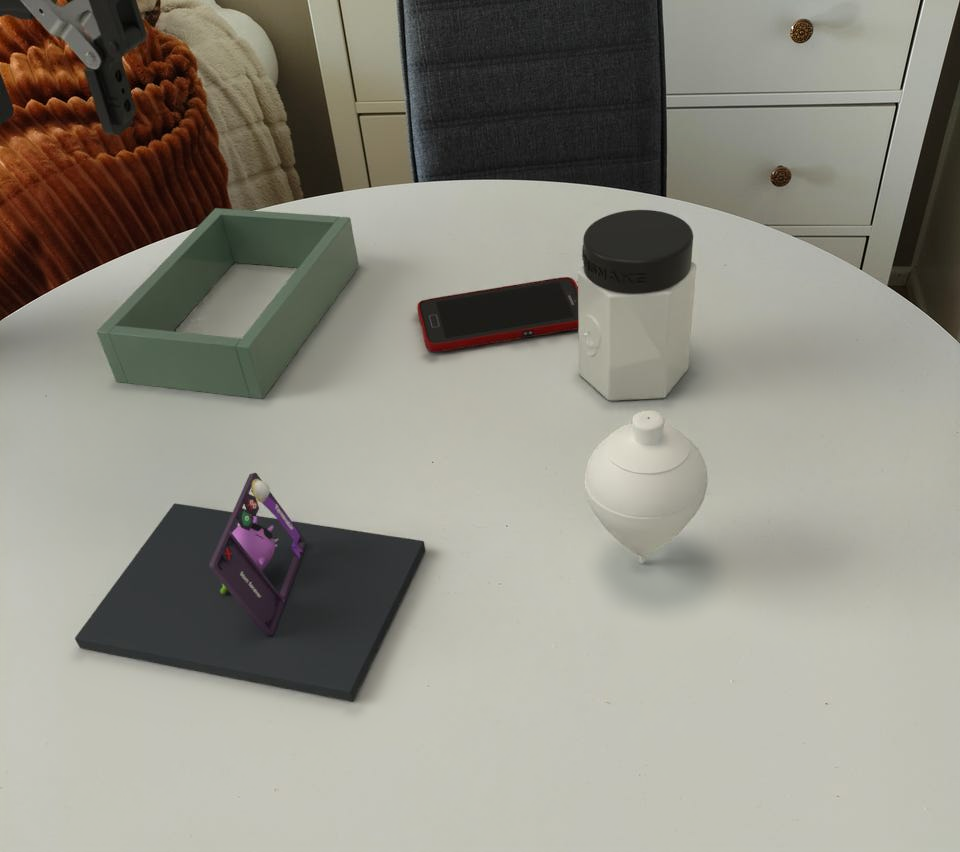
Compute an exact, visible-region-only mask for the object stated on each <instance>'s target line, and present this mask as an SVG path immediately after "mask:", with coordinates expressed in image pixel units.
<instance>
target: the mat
mask: <svg viewBox="0 0 960 852" xmlns="http://www.w3.org/2000/svg"><path fill="white" fill-rule="evenodd" d="M232 512H233V511H228V510H221V509H215V508H208V507H201V506H195V505H188V504H182V503H176V502H174V503H173V504H172V505H171V507H170V508H169V509H168V511H167V513H166V514H165V515H164V516H163V518H162V519H161V520H160V522H159V523H158V524H157V526H156V527H155V529H154V530H153V531H152V533H151V534H150V535H149V537H148V538H147V539H146V541H145V542H144V543H143V545H142V546H141V547H140V549H139V550H138V551H137V553H136V554H135V556H134V557H133V558H132V560H131V561H130V563H129V564H128V565H127V567H126V568H125V569H124V571H123V572H122V573H121V575H120V576H119V578H118V579H117V580H116V582H114V584H113V585H112V587H111V588H110V590H108V592H107V593H106V595H105V597H103V599H102V600H101V602H100V603H99V604H98V606H97V607H96V609H95V610H94V611H93V613H92V614H91V615H90V617H89V618H88V619H87V621H86V622H85V624H84V625H83V626H82V627H81V629H80V630H79V632H78V633H77V634H76V635H75V637H74V640H75V642H76V643H77V645H78V647H79V648H80V649H84V650H89V651H94V652H99V653H105V654H110V655H115V656H120V657H126V658H130V659H134V660H139V661H145V662H151V663H156V664H161V665H165V666H170V667H171V666H172V667H177V668H180V669H186V670H191V671H196V672H201V673H206V674H211V675H217V676H221V677H227V678H231V679H237V680H240V681H241V680H242V681H245V682H246V681H247V682H251V683H257V684H263V685H268V686H272V687H276V688H277V687H278V688H282V689H287V690H292V691H298V692H303V693H308V694H313V695H318V696H324V697H327V698H334V699H338V700H342V701H343V700H344V701H347V702H354V700H355V698H356V696H357V695H358V693H359V690H360V688H361V686H362V683H363V682H364V679H365V678H366V676H367V673H368V671H369V669H370V667H371V665H372V663H373V661H374V658H375V657H376V655H377V653H378V651H379V649H380V646H381V644H382V642H383V640H384V638H385V636H386V634H387V632H388V630H389V627H390V625H391V623H392V622H393V620H394V617H395V615H396V613H397V611H398V609H399V608H400V605H401V603H402V601H403V599H404V597H405V594H406V593H407V590H408V588H409V586H410V584H411V582H412V580H413V578H414V576H415V574H416V572H417V569H418V567H419V565H420V563H421V561H422V559H423V557H424V555H425V553H426V545H425V541H424V540H419V539H412V538H406V537H400V536H394V535H386V534H380V533H373V532H366V531H361V530H354V529H346V528H341V527H334V526H327V525H320V524H314V523H308V522H301V521H294V520H291V521H292V522H293V524H294V525H295V526H296V528H297V529H298V531H299V532H300V533H301V535H302V536H303V537H304V539H305V540H306V547H305V549H304V552H303V555H302V558H301V560H300V563H299V566H298V569H297V571H296V574H295V577H294V579H293V582H292V585H291V588H290V590H289V593H288V596H287V599H286V601H285V604H284V607H283V609H282V612H281V615H280V618H279V620H278V623H277V626H276V629H275V631H274V634H273V635H271V636H266V635H265V634H264V633H263V631H262V630H261V629H260V628H259V627H258V625H257V624H256V623H255V622H254V621H253V619H252V618H251V617H250V616H249V615H248V613H247V612H246V611H245V610H244V609H243V607H242V606H241V605H240V604H239V603H238V601H237V600H236V599H235V598H234V597H233V595H232V594H231V593H230V592H229V591H227V593H226V594H221V592H220V590H221V589H222V586H223V585H222V582H221V581H220V580H219V579H218V578H217V576H216V575H215V574H214V573H213V572H212V570H211V569H210V567H209V564H210V561H211V559H212V557H213V555H214V552H215V550H216V548H217V546H218V544H219V541H220V539H221V537H222V535H223V532H224V530H225V528H226V526H227V523H228V521H229V519H230V517H231V515H232ZM250 515H251V514H250ZM256 516H257V519H258V525H260V526H262V527H264V528H266V529H268V528H269V527H270V526H272V525H273V526H274V528H273V530H272V532H271V533H272V536H273V539H274V540H275V539H278V541H276V542H275V544H276V545H277V546H276V547H275V550H274V554H273V556H272V558H271V559H270V561H269V562H268V564H267V565H266V567H265V568H264V569H263V570H262V572H263V573H264V575H265V576H266V577H267V579H268V580H269V581H270V582H271V584H272V585H273V586H274V587H275V589H276V590H277V591H278V592H279V594H280V591H281V589H282V586H283V583H284V581H285V578H286V575H287V573H288V570H289V567H290V565H291V562H292V559H293V557H294V554H295V552H294V551H293V550H292V544H293V542H294V540H293V539H292V537H291V536H290V535H289V533H288V532H287V531H286V529H285V528H284V527H283V526H282V524H281V523H280V522H279V520H278V519H277V518H276V517H275V518H274V517H268V516H262V515H256ZM251 518H252V521H253V520H254V516H253V515H251ZM238 523H239V520H238V519H237V521H236V524H235V526H234V528H233V530H232V532H233V531H234V530H235V529H236V528H237V527H238ZM239 524H240V523H239ZM297 545H298V543H297Z"/></svg>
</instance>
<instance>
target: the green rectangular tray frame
mask: <svg viewBox="0 0 960 852" xmlns="http://www.w3.org/2000/svg"><path fill="white" fill-rule="evenodd" d="M352 224H353V223H352V219H351V217H349V216H337V215H323V214H307V213H293V212H292V213H291V212H279V211H278V212H276V211H265V210H263V211H261V210H248V209H232V208H221V207H220V208H219V207H215V208H214V209H213V210H212V211H211V212H210V213H209V214H208V215H207V216H206V217H205V219H203V220H202V221H201V223H200V224H198V225H197V227H195V229H194V230H193V231H192V232H191V233H190V234H189V235H188V236H187V237H186V238H185V239H184V240H183V241H182V242H181V243H180V244H179V245H178V246H177V247H176V248H175V249H174V250H173V252H171V253H170V255H169V256H167V258H166V259H165V260H164V261H163V262H162V263H161V264H160V265H158V267H157V268H156V269H155V270H154V271H153V272H152V273H151V274H150V275H149V276H148V277H147V278H146V279H145V280H144V281H143V282H142V284H140V286H138V288H137V289H136V290H135V291H134V292H133V293H132V294H131V295H130V296H129V297H128V298H127V299H126V300H125V301H124V302H123V303H122V304H121V305H120V306H119V307H118V308H117V309H116V311H114V312H113V314H111V316H110V317H109V318H108V319H107V320H106V321H104V323H103V324H102V325H101V326H100V327H99V328H98V329H96V330H95V332H96V335H97V337H98V340H99V342H100V344H101V347H102V350H103V352H104V355H105V357H106V359H107V360H106V361H107V362H108V364H109V367H110V369H111V372H112V374H113V377H114V379H115V382H117V383H125V384H134V385H143V386H151V387H159V388H167V389H174V390H175V389H177V390H184V391H192V392H201V393H209V394H216V395H225V396H234V397H243V398H244V397H245V398H252V399H253V398H254V399H260V400H263V399H264V398H265V397H266V395H267V394H268V393H269V391H270V390H271V388H272V387H273V386H274V385H275V383H276V381H277V380H278V379H279V377H280V376H281V375H282V373H283V372H284V371H285V369H286V368H287V366H288V365H289V364H290V362H291V361H292V359H293V358H294V357H295V355H296V354H297V353H298V351H299V350H300V349H301V347H302V346H303V344H304V343H305V342H306V341H307V339H308V338H309V336H310V334H311V333H312V332H313V331H314V329H315V328H316V326H317V325H318V324H319V322H320V321H321V320H322V319H323V317H324V316H325V314H326V313H327V311H328V310H329V309H330V307H331V306H332V304H333V303H334V301H335V300H336V299H337V297H338V296H339V295H340V293H341V292H342V291H343V289H344V288H345V286H346V285H347V284H348V282H349V281H350V279H351V278H352V277H353V276H354V275H355V273H356V271H357V270H358V268H359V267H360V263H359V258H358V253H357V248H356V241H355V237H354V231H353V225H352ZM234 263H236V264H248V265H258V266H259V265H261V266H270V267H271V266H272V267H273V266H274V267H283V268H296V270H295V271H294V272H293V274H292V275H291V276H290V278H289V279H288V280H287V282H285V284H284V285H283V286H282V287H281V289H280V290H279V291H278V292H277V294H276V295H275V296H274V298H273V299H272V300H271V301H270V303H269V304H268V305H267V306H266V308H265V309H264V310H263V311H262V312H261V313H260V315H259V316H258V318H257V319H256V320H255V321H254V323H253V324H252V325H251V326H250V328H249V329H248V330H247V331H246V332H245V333H244V335H243V336H242V338H241V337H240V338H239V337H232V336H231V337H230V336H221V335H213V334H212V335H211V334H203V333H202V334H201V333H192V332H184V331H183V332H182V331H175V330H176V329H177V328H178V327H179V326H180V325H181V323H182V322H183V321H184V320H185V319H186V318H187V316H188V315H190V314H191V312H192V311H193V310H194V309H195V307H196V306H198V305H199V303H200V302H201V301H202V300H203V298H204V297H205V296H206V295H207V294H208V293H209V292H210V290H211V289H212V288H213V287H214V286H215V285H216V284H217V282H219V280H220V279H222V277H223V276H224V275H225V273H227V271H228V270H229V269H230V268H231V267H232V265H234Z"/></svg>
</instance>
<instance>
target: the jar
mask: <svg viewBox="0 0 960 852" xmlns="http://www.w3.org/2000/svg"><path fill="white" fill-rule="evenodd" d="M582 239H583V240H582V241H583V244H582V249H581V251H582V253H581V255H582V256H581V258H582V262H583V264H582V265H583V266H581V268H579V269H578V271H577V286H578V329H577V330H578V374H579V376H580V377H581V378H582V379H584V380H585V381H586V382H587V383H588V384H589V385H590V386H591V387H593V388H594V389H595V390H596V391H597V392H598V393H599V394H600V395H602V396H603V397H604V398H605V399H606V400H607V401H609V402H611V401H629V400H630V401H631V400H654V399H657V400H658V399H665V398H666V397H667V396H668V394H669V393H670V392H671V390H672V389H673V388H674V387H675V386H676V385H677V383H678V382H679V381H680V380H681V378H682V377H683V376H684V375H685V374H686V372H687V371H688V369H689V364H690V351H691V339H692V329H693V328H692V326H693V315H694V314H693V313H694V301H695V290H696V289H695V288H696V278H697V277H696V276H697V264H696V263H695V262H693V261H692V258H693V246H694V232H693V230H692V228H691V226H690V225H689V223H688V222H686V221H685V220H683V218H680V217H679V216H677V215H674V214H671V213H669V212H664V211H659V210H652V209H632V210H624V211H618V212H614V213H611V214H608V215H606V216H603V217H600V218H598V219H597V220H595V221H594V222H593V223H591V224H590V225H589V226H588V228H586V230H585V232H584V234H583V238H582Z"/></svg>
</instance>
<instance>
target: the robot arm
mask: <svg viewBox="0 0 960 852" xmlns="http://www.w3.org/2000/svg"><path fill="white" fill-rule="evenodd" d="M65 1H66V2H67V3H66V4H64V5H61V6H60V5H58V4H57V3H58V0H0V18H1V17H5V16H7V15H8V16H11V17H13V18H16V19H19V20H25V21H26V20H27V21H33V20H35V19H36V20H37V21H38V22H39V24H41V26H42V27H43V28H44V29H45V30H46V31H47V32H48V33H49V34H50V35H52V36H53V37H57V38H61V40H62V41H64V42H65V44H66V45H67V46H68V47H69V48H70V49H71V50H72V51H73V52H74V54H75V55H76V56H77V57H78V58H79V59H80V60H81V61H82V62H83V64H84V65H85V66H86V67H85V68H84V69H83V72H84V76H85V79H86V82H87V85H88V88H89V91H90V94H91V98H92V101H93V104H94V107H95V109H96V112H97V116H98V119H99V122H100V125H101V128H102V130H103V133H104V134H105V135H110V136H120V135H121V134H123V133H124V132H125V131H126V130H128V129H129V128H131V126H132V125H133V122H134V121H133V120H134V117H136V111H137V110H136V109H137V107H136V103H135V99H134V97H133V93H132V90H131V87H130V83H129V80H128V77H127V73H126V70H125V66H124V62H123V57H124V56H126V55H127V54H128V53H130V52H131V51H133V50H134V49H136V48H137V47H138V46H140V45H141V44H143V43H144V42H145V41H146V40H147V35H148V34H147V30H146V26H145V24H144V20H143V17H142V15H141V11H140V8H139V4H138V2H137V0H65ZM14 113H15V109H14V105H13V103H12V100H11V97H10V94H9V91H8V89H7V86H6V83H5V81H4V79H3V76H2V74H1V72H0V126H1V125H3V124H4V123H5V122H6V121H8V120H10V119H11V118H12V117H13V116H14Z"/></svg>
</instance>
